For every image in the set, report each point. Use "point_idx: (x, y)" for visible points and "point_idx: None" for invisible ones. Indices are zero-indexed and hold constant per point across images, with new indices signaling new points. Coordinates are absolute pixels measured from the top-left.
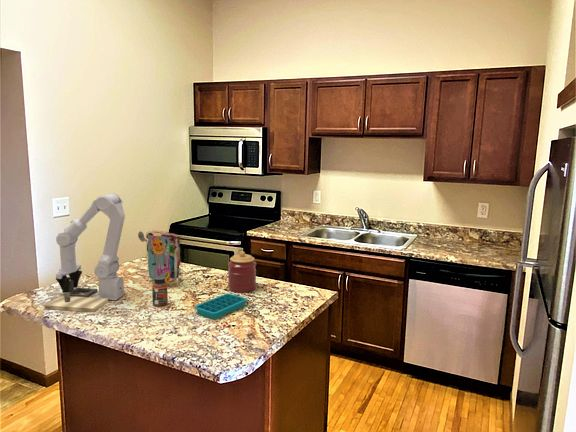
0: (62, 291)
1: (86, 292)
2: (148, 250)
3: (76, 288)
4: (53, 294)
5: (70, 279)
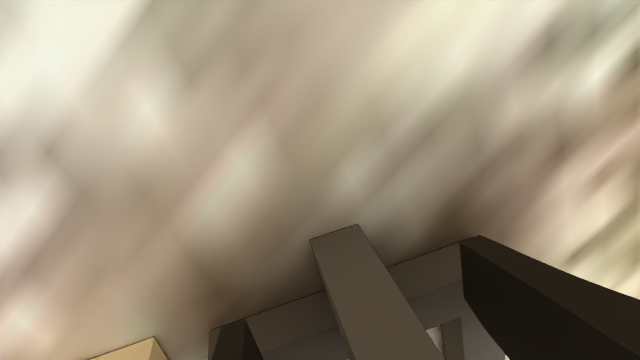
0: (217, 341)
1: (444, 350)
2: None
3: None
4: (226, 51)
5: (586, 326)
